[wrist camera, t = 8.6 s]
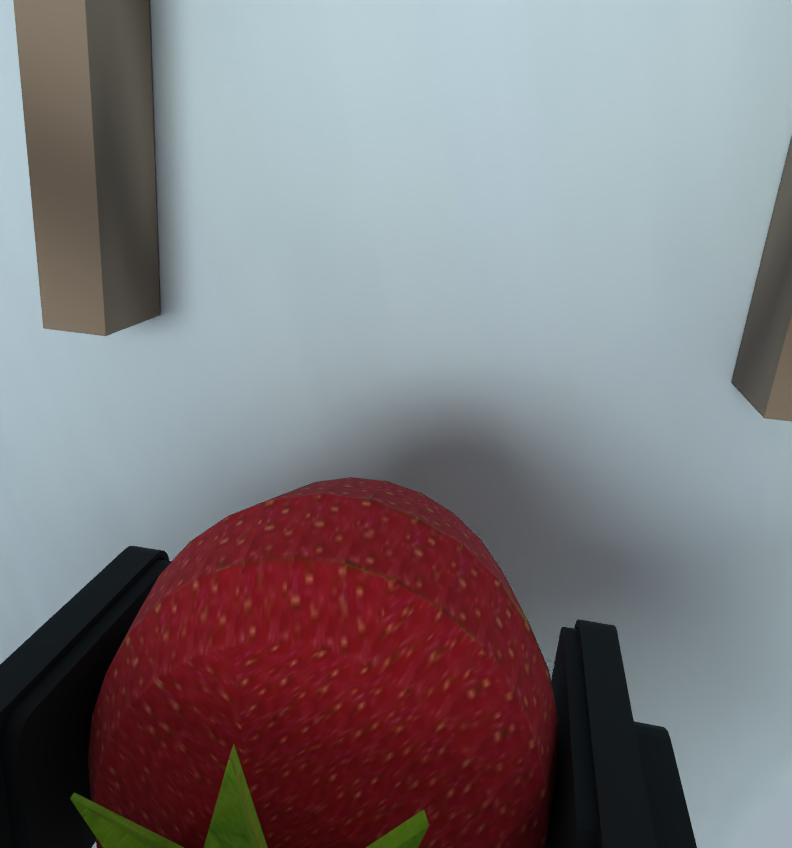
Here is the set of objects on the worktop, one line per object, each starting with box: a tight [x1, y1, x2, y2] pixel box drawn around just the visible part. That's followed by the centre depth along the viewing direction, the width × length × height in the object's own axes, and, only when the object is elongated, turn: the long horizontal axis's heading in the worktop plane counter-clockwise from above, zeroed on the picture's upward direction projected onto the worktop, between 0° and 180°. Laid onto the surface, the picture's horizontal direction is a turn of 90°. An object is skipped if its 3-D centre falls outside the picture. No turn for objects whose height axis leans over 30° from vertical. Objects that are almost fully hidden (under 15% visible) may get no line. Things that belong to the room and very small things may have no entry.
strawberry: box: [70, 478, 559, 848], centre depth 10 cm, size 6×8×10 cm
